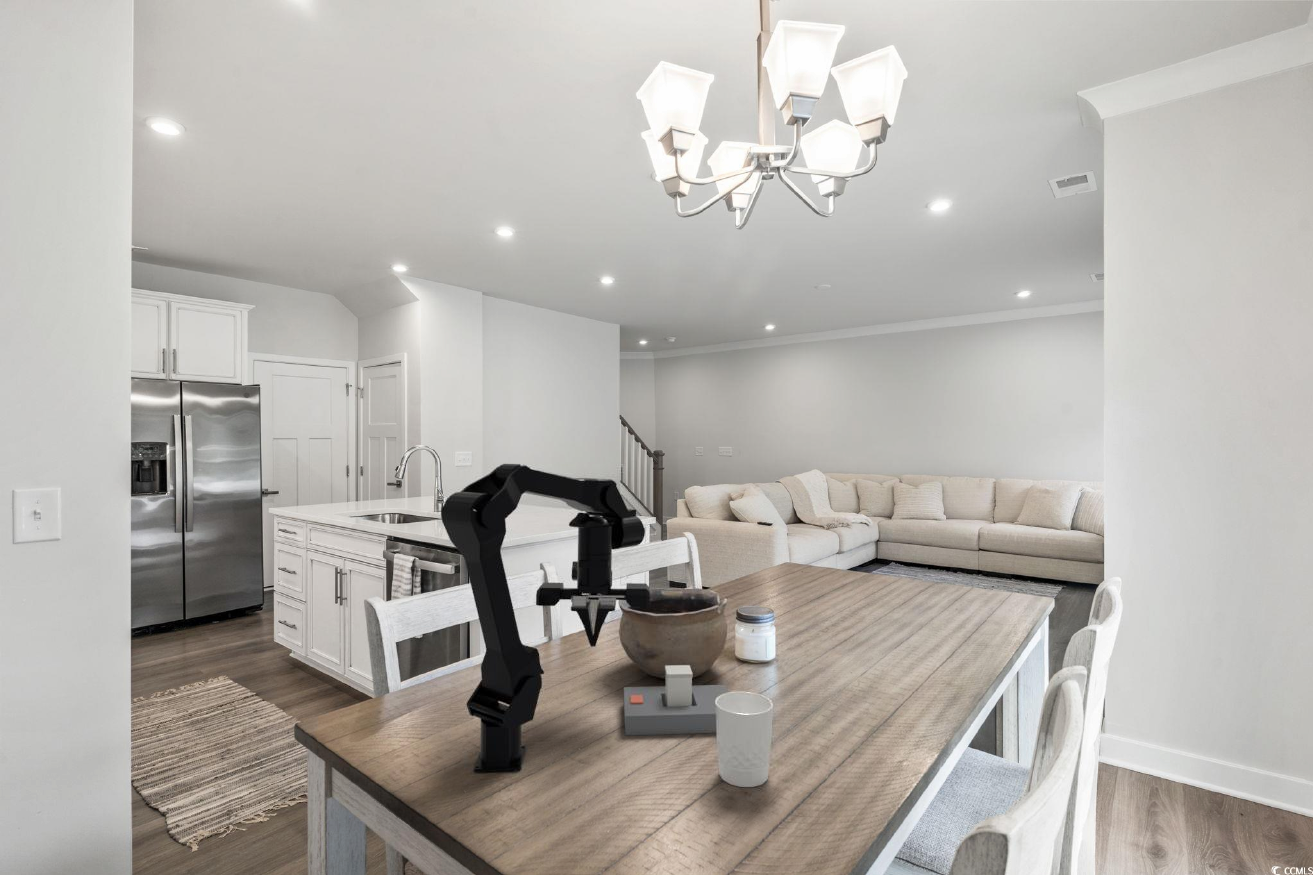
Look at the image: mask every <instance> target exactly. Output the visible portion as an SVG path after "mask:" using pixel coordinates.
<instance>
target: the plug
mask: <svg viewBox="0 0 1313 875" xmlns="http://www.w3.org/2000/svg"><path fill="white" fill-rule="evenodd" d="M665 671H666V679H665V686H666V696H665V707H671V706H692V686H693V678H694V677H693V674H692V671H691V668H690V665H671V666H665Z"/></svg>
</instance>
